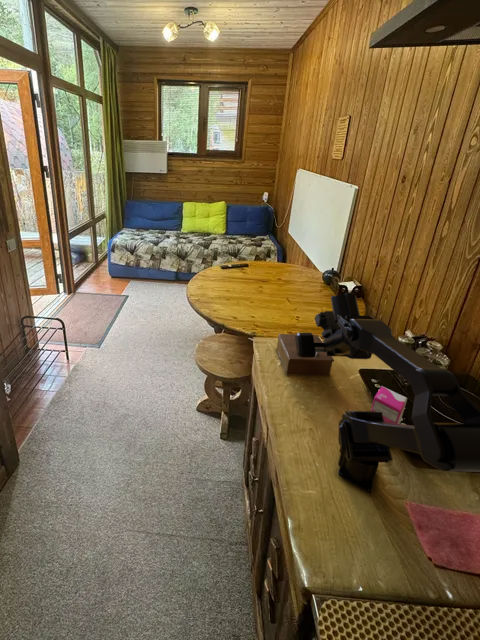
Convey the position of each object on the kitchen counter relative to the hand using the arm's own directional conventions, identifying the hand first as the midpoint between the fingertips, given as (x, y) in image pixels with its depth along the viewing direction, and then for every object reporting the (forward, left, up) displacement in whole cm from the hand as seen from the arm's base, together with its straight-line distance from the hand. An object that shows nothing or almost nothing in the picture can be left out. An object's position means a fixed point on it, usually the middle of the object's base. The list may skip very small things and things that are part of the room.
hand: (320, 350), depth 88 cm
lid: (+6, -9, -7) cm, 13 cm away
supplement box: (-19, +6, -13) cm, 23 cm away
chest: (+6, -9, -13) cm, 17 cm away
